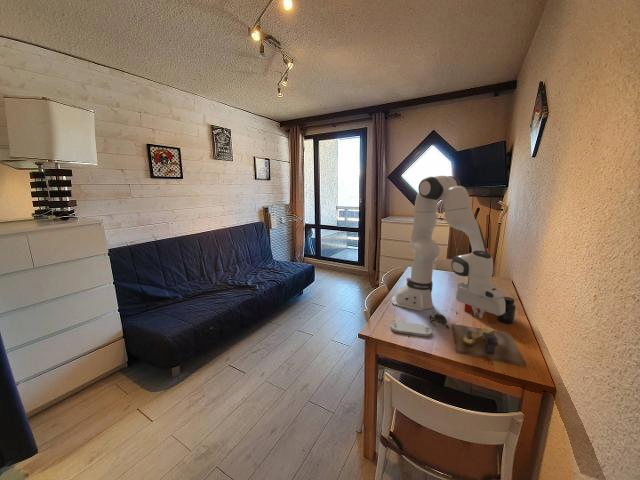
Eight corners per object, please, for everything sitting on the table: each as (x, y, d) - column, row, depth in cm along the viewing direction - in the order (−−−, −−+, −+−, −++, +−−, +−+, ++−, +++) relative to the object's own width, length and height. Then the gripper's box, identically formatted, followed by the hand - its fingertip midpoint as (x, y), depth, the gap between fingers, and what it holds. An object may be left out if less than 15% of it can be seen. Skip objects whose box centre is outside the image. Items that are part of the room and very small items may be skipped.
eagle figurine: (426, 325, 126) (446, 327, 121) (427, 310, 129) (447, 311, 123) (431, 327, 132) (451, 330, 126) (432, 313, 134) (451, 315, 128)
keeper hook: (484, 352, 104) (485, 340, 103) (481, 343, 110) (482, 332, 109) (496, 355, 103) (497, 342, 102) (492, 345, 109) (494, 334, 108)
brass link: (470, 347, 107) (471, 335, 106) (460, 342, 111) (462, 330, 110) (495, 335, 116) (497, 324, 115) (486, 331, 119) (487, 320, 118)
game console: (390, 328, 122) (391, 319, 130) (390, 333, 122) (391, 324, 130) (432, 334, 117) (431, 325, 124) (432, 339, 117) (430, 329, 125)
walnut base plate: (456, 352, 107) (456, 349, 106) (451, 326, 127) (451, 323, 126) (525, 366, 98) (525, 362, 98) (508, 336, 118) (509, 332, 118)
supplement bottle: (497, 316, 136) (500, 294, 134) (513, 320, 132) (516, 297, 130) (496, 322, 130) (499, 299, 128) (513, 326, 127) (517, 302, 124)
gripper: (453, 282, 125) (452, 309, 127) (500, 297, 107) (497, 328, 110) (462, 279, 128) (461, 306, 130) (508, 293, 110) (506, 323, 113)
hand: (478, 316), depth 120 cm, fingers closed
